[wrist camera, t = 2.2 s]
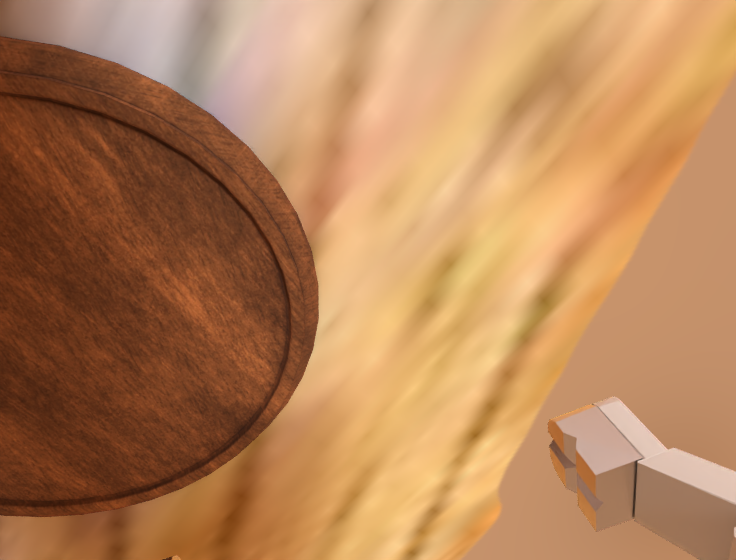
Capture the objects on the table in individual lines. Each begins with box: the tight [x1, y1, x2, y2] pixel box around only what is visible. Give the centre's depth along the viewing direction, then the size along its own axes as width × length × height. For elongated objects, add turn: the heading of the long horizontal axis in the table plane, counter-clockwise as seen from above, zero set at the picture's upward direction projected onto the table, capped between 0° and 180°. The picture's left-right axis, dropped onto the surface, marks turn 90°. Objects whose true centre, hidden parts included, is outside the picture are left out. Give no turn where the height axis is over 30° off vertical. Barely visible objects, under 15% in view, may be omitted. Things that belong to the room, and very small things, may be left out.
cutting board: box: [0, 37, 319, 517], centre depth 33 cm, size 32×32×3 cm
